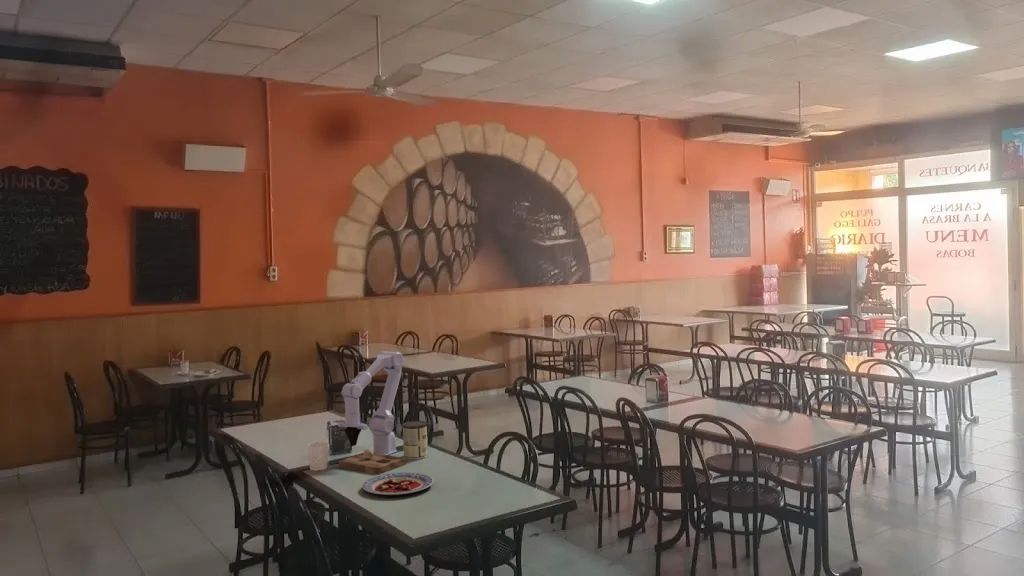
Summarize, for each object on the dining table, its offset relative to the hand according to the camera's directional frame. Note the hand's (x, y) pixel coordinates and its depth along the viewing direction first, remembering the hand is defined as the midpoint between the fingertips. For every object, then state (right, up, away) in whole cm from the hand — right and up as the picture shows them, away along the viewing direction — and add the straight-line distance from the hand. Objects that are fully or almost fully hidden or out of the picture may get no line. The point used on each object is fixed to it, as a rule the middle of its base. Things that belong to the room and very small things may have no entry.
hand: (353, 445), depth 313 cm
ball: (+7, -3, -4) cm, 8 cm away
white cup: (-13, -8, -7) cm, 16 cm away
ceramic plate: (+24, -9, -35) cm, 44 cm away
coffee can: (+25, -6, +7) cm, 27 cm away
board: (+9, -7, -5) cm, 12 cm away
